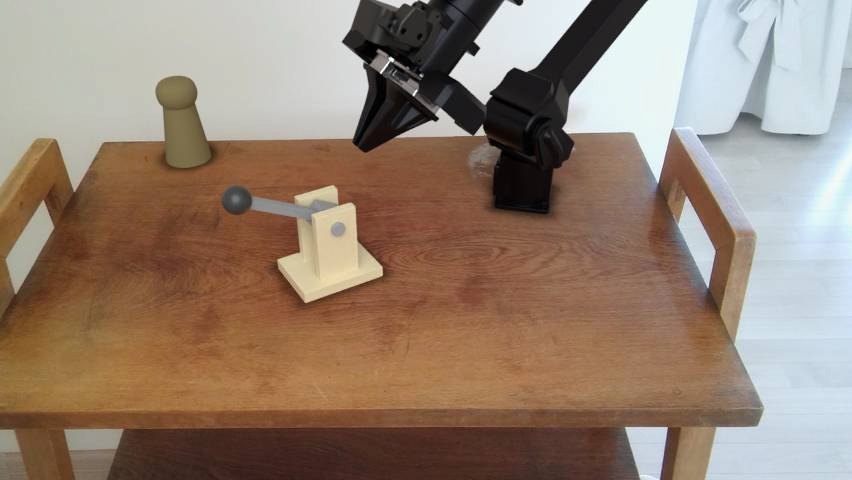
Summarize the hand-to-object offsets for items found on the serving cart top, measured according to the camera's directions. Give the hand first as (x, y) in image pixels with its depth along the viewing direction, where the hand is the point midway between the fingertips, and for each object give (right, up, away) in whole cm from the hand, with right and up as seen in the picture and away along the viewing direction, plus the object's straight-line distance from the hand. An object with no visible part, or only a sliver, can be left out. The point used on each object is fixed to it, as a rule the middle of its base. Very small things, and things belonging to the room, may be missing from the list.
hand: (358, 148), depth 75 cm
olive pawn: (-24, +3, +28) cm, 37 cm away
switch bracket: (-3, -12, +6) cm, 14 cm away
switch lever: (-8, -7, 0) cm, 11 cm away
